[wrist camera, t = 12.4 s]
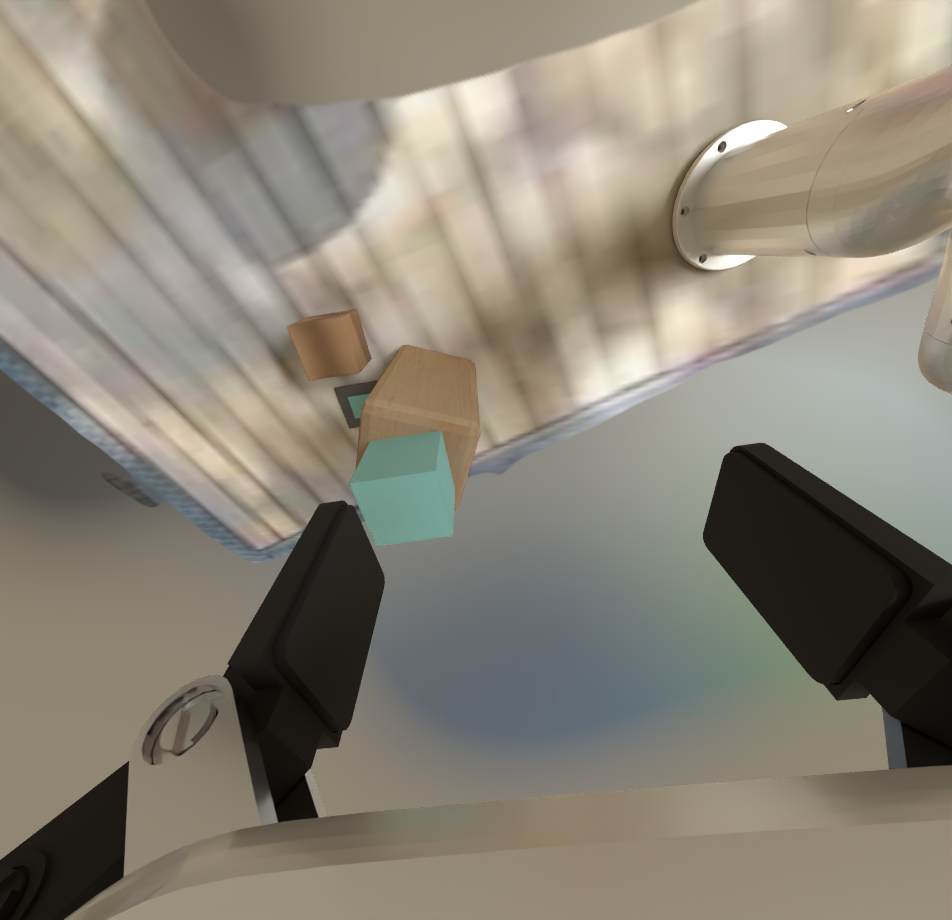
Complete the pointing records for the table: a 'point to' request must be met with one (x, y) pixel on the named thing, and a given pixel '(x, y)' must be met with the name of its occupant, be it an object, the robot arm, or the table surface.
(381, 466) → the teal cube
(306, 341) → the walnut cube
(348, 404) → the card
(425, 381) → the wooden block
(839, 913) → the robot arm
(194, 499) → the table surface
